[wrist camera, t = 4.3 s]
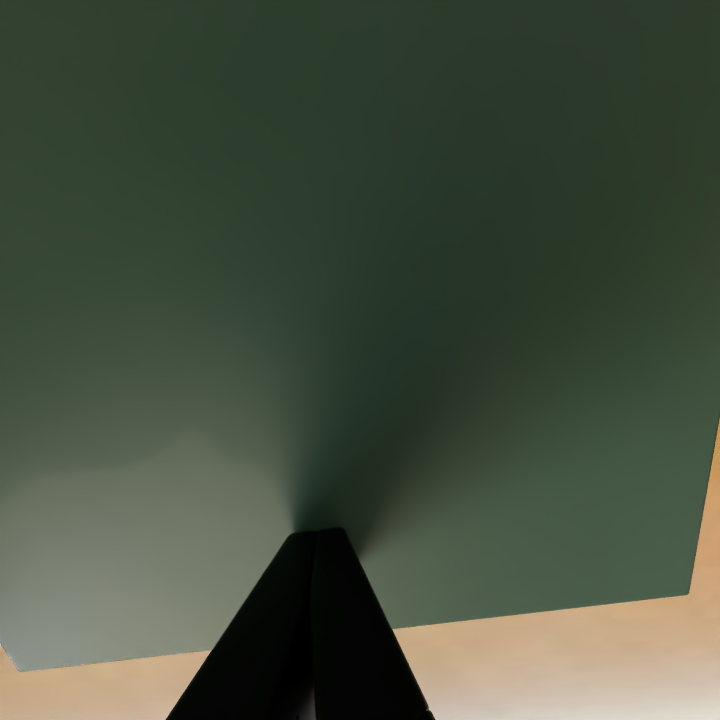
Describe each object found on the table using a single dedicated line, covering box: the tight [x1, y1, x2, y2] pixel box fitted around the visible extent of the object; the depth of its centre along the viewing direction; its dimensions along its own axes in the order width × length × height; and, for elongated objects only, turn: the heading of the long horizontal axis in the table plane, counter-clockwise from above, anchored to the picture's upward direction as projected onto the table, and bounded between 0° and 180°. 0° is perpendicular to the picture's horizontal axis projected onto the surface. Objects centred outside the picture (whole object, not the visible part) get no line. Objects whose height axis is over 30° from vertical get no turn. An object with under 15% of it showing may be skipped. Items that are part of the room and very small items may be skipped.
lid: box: [0, 0, 720, 672], centre depth 7 cm, size 14×12×1 cm
